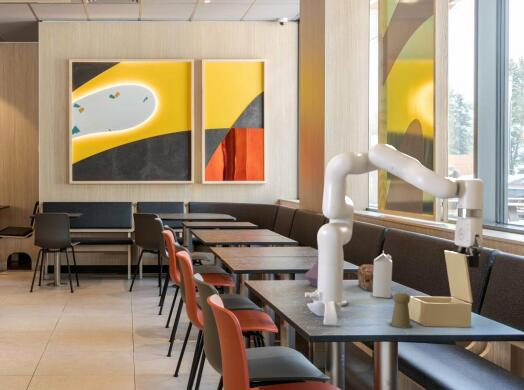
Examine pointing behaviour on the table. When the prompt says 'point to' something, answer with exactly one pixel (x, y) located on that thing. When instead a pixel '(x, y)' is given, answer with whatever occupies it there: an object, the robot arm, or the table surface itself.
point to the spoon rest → (326, 311)
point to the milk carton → (382, 276)
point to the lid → (458, 275)
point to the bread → (366, 276)
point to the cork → (401, 310)
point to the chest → (440, 311)
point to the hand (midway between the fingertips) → (467, 265)
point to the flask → (313, 275)
